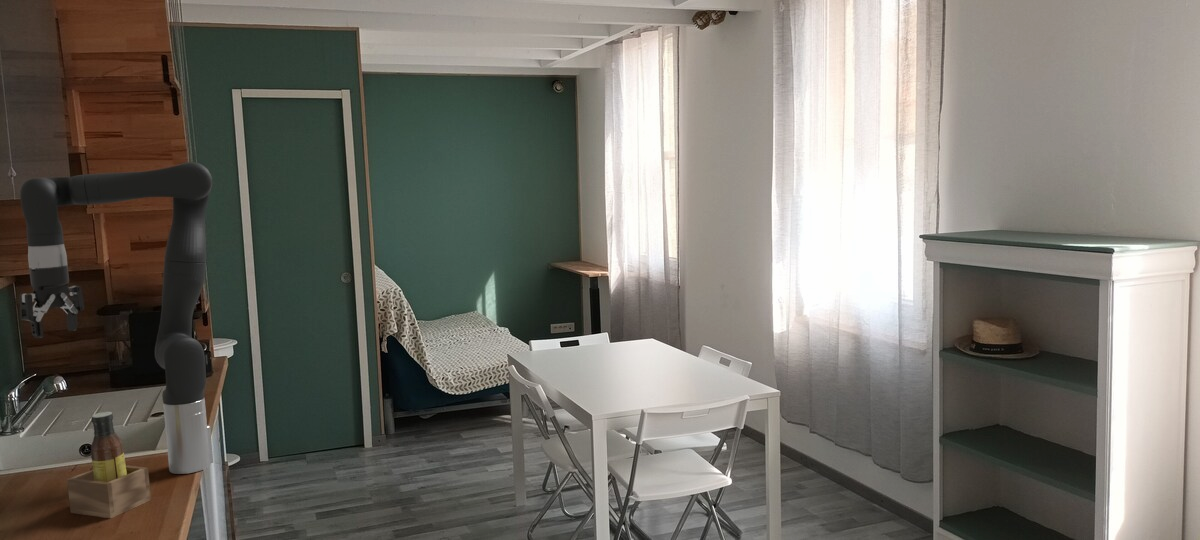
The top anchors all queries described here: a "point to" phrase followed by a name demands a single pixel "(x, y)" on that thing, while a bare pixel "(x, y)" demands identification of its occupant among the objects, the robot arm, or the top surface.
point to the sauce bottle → (106, 449)
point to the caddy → (108, 493)
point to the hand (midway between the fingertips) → (55, 334)
